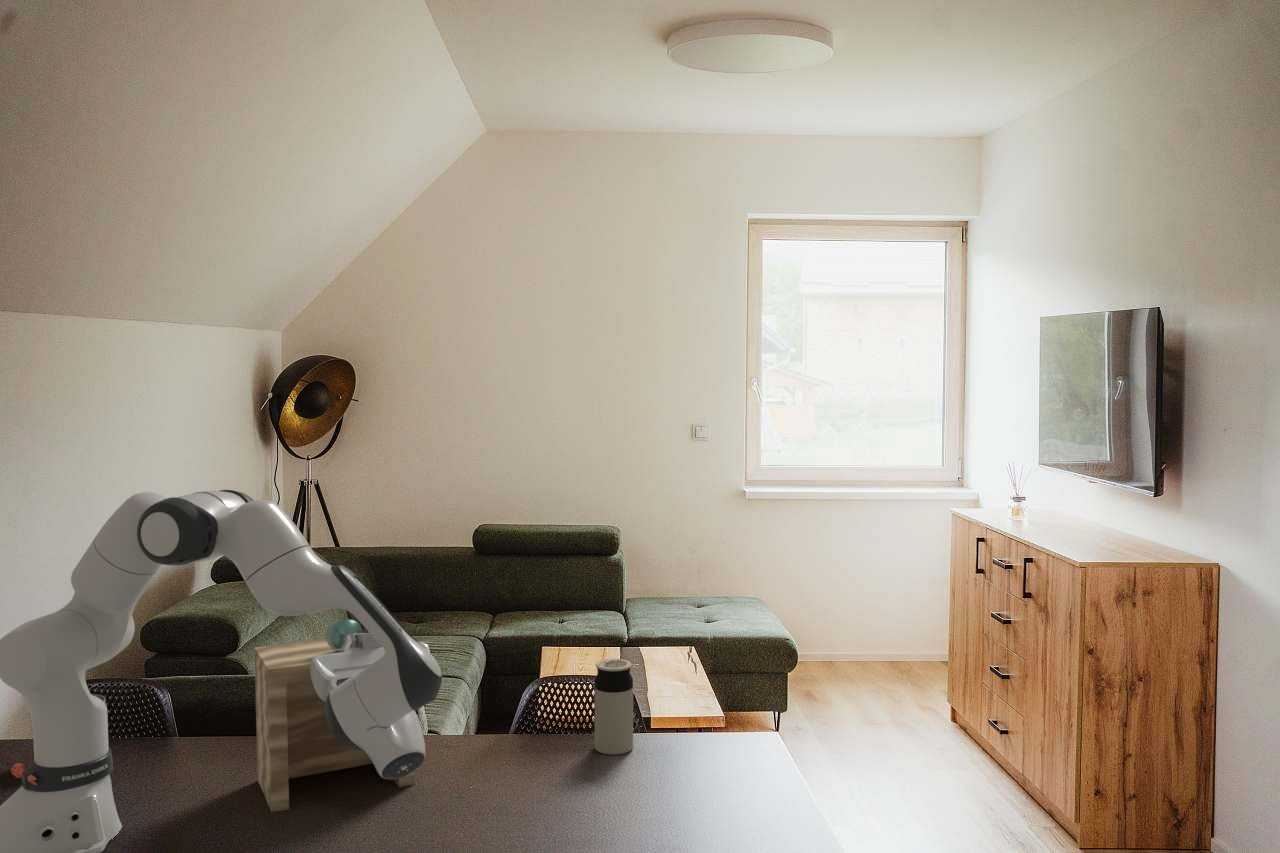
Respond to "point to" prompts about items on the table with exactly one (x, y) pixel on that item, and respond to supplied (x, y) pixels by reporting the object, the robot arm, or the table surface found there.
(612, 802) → the table surface
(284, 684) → the oak shelf
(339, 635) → the teal maraca
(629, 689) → the travel mug
